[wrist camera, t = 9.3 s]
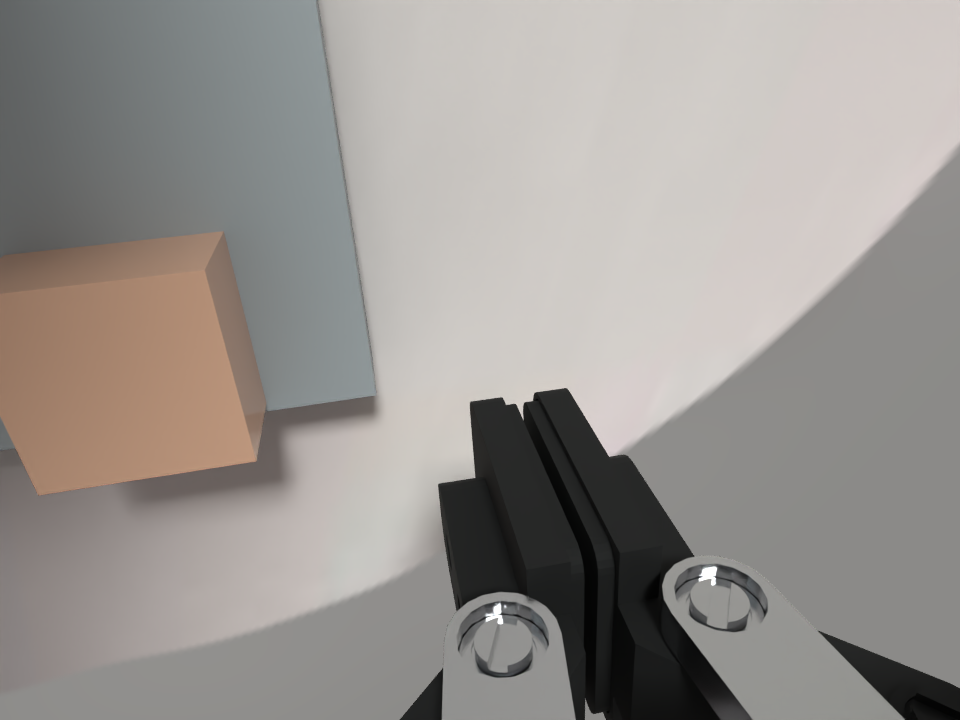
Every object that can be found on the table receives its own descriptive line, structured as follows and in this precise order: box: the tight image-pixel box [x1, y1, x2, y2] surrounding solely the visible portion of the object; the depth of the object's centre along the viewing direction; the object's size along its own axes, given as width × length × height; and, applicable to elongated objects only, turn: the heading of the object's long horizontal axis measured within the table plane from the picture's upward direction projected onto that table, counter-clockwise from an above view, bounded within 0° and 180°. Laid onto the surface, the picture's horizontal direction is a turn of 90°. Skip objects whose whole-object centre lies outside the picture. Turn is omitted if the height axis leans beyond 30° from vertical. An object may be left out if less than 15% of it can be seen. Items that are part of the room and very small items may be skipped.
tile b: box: [0, 231, 266, 496], centre depth 14 cm, size 4×4×2 cm
